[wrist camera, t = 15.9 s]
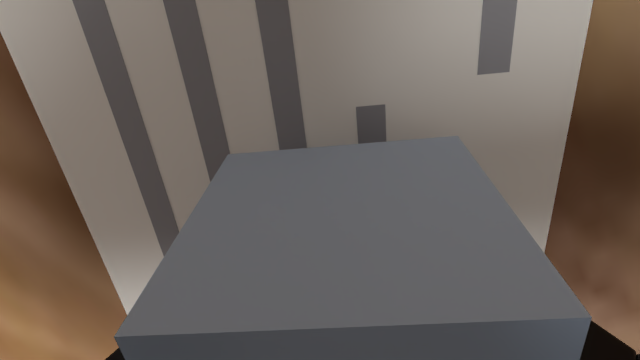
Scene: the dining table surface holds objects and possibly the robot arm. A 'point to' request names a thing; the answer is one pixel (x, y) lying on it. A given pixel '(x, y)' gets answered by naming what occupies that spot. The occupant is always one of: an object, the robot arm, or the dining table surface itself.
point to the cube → (355, 265)
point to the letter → (285, 96)
